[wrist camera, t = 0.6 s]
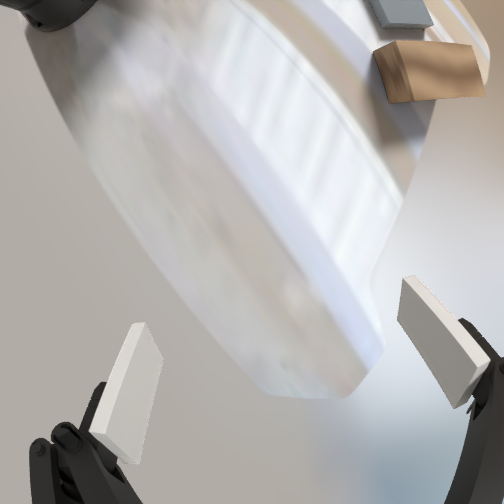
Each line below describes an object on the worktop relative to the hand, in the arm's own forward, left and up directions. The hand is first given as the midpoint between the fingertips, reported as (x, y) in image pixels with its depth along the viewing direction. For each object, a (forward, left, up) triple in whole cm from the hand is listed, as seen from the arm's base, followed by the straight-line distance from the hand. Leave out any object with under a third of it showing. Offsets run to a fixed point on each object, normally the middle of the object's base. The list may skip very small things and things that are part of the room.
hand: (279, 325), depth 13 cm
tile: (-26, +31, -27) cm, 48 cm away
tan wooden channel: (-12, +31, -27) cm, 42 cm away
